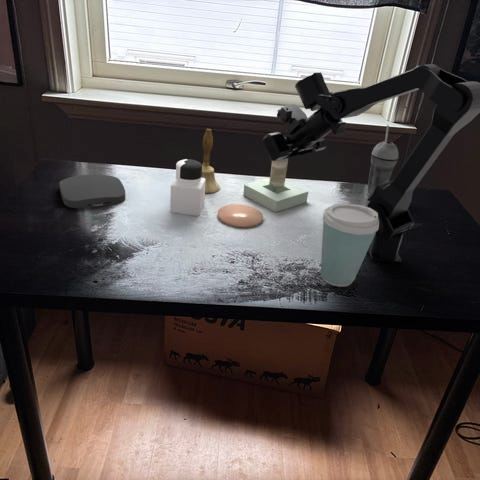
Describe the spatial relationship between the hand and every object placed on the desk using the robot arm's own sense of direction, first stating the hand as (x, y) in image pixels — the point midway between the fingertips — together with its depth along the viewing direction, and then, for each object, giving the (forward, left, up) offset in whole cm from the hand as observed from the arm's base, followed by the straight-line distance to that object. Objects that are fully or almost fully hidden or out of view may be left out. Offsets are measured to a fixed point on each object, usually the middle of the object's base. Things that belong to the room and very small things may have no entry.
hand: (276, 157), depth 121 cm
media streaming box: (-9, +45, -11) cm, 47 cm away
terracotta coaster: (-14, +8, -11) cm, 20 cm away
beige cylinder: (-1, -1, -7) cm, 7 cm away
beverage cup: (+8, -30, -11) cm, 33 cm away
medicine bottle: (-12, +21, -11) cm, 27 cm away
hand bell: (+2, +18, -11) cm, 21 cm away
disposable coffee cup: (-37, -12, -11) cm, 40 cm away
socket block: (-1, -1, -11) cm, 11 cm away
